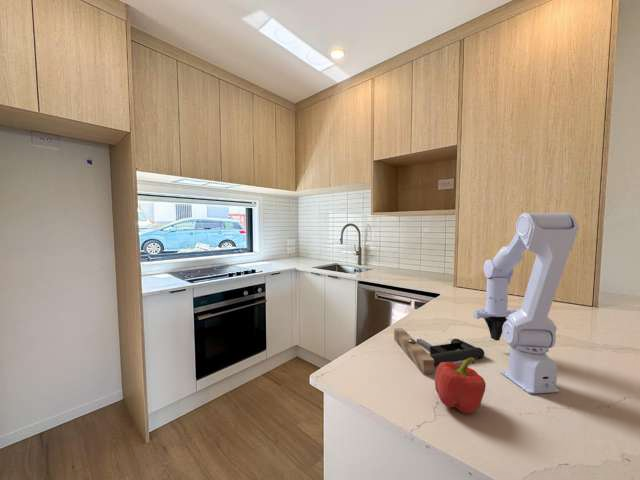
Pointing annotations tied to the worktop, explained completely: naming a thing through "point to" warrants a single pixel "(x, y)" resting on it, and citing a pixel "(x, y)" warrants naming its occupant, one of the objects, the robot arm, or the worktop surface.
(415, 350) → the bar
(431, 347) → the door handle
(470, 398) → the vegetable
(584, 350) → the worktop surface
